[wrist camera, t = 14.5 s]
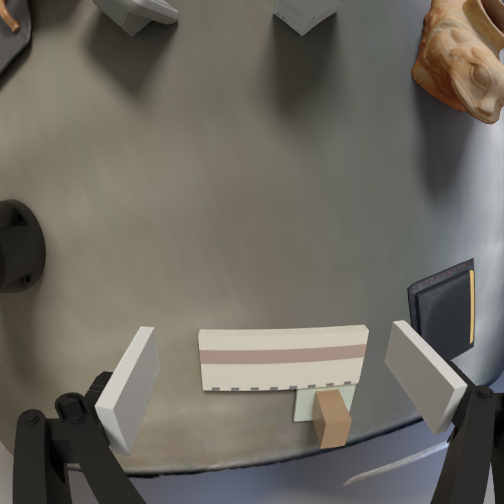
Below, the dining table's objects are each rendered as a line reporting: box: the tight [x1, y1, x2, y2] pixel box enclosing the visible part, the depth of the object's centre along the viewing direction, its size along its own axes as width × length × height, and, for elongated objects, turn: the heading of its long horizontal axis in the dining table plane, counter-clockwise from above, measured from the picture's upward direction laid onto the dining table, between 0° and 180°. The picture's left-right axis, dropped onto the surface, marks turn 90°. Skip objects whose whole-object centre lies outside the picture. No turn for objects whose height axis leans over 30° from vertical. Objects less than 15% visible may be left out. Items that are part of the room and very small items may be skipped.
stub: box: [293, 383, 356, 449], centre depth 44 cm, size 10×8×9 cm
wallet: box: [408, 258, 475, 360], centre depth 46 cm, size 20×2×15 cm
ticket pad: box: [198, 325, 369, 391], centre depth 45 cm, size 25×10×2 cm, turn 90°
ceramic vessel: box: [411, 0, 504, 124], centre depth 28 cm, size 14×26×15 cm, turn 161°
